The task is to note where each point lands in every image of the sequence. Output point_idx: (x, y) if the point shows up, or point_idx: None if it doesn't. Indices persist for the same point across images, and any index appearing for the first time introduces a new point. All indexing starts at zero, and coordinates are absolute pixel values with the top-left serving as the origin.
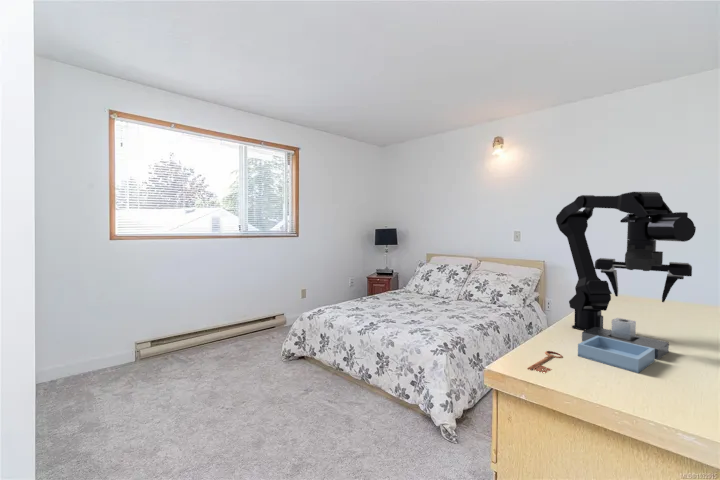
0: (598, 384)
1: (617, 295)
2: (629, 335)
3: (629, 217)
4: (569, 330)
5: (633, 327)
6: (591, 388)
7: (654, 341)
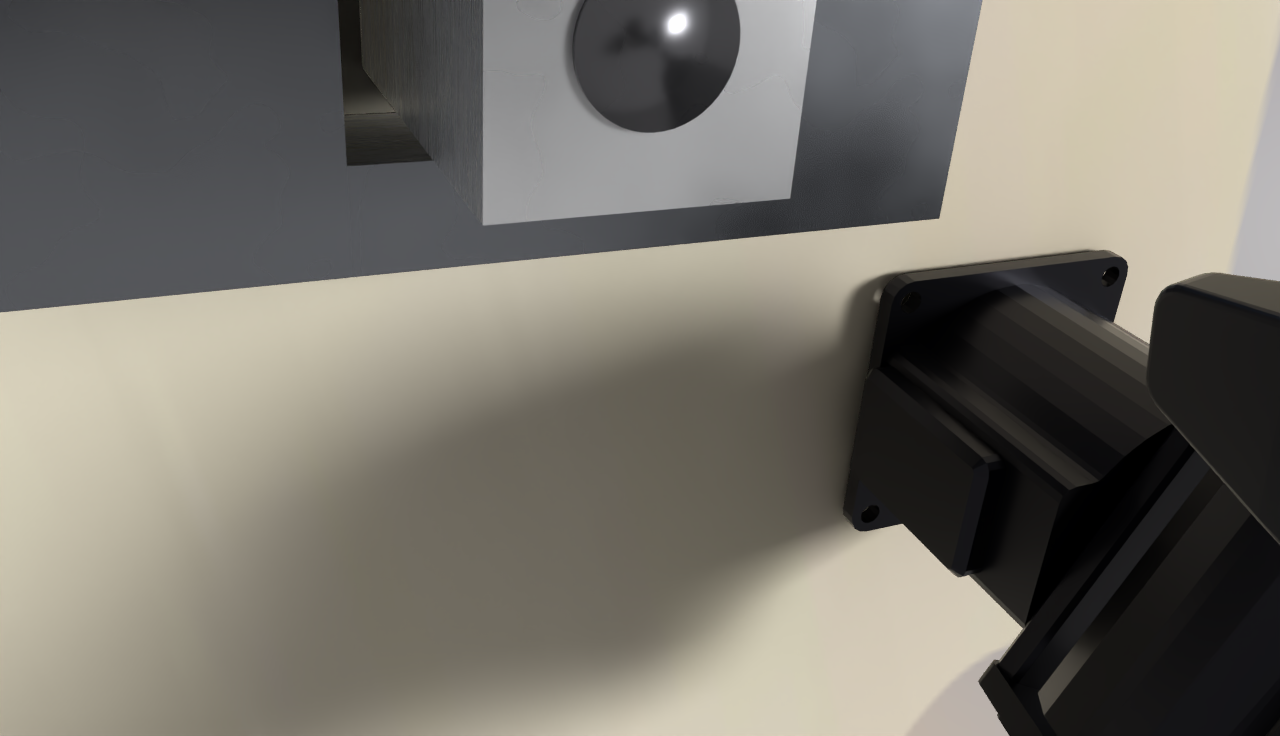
0: None
1: (1182, 315)
2: None
3: None
4: (1123, 105)
5: (447, 42)
6: None
7: (112, 140)
